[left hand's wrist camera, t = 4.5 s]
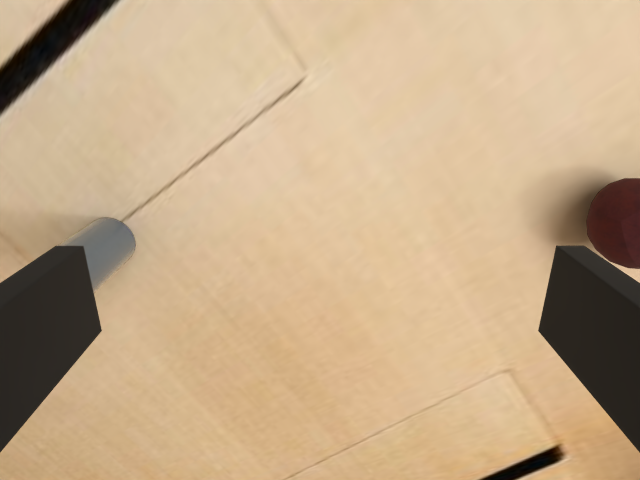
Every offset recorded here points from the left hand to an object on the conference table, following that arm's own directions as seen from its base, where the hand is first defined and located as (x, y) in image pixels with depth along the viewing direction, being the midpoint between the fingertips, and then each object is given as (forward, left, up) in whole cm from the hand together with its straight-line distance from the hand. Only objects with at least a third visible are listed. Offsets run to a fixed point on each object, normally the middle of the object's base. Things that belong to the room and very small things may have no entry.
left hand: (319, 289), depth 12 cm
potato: (+6, +27, -28) cm, 39 cm away
